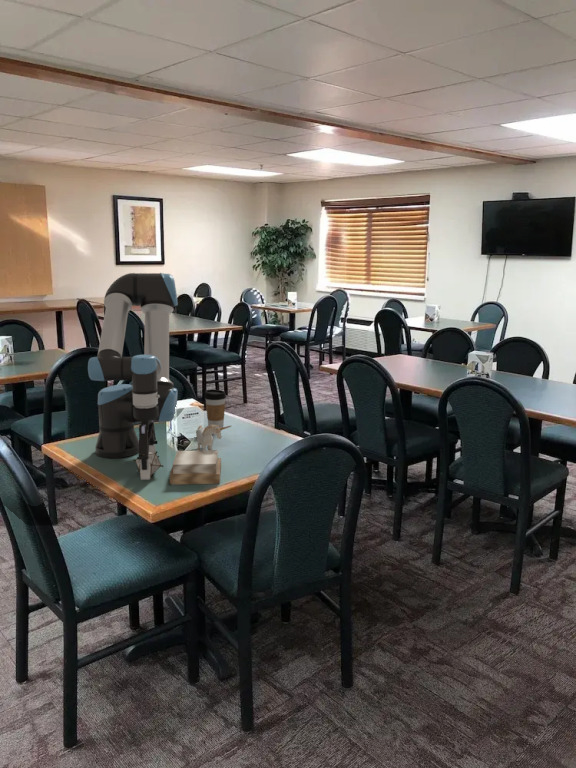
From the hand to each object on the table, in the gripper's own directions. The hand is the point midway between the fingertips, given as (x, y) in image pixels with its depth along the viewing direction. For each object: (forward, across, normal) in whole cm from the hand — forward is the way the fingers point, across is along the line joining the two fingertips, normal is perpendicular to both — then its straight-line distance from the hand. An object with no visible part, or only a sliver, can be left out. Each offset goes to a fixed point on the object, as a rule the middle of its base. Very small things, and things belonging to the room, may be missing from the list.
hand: (148, 471), depth 195 cm
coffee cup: (+1, +52, -19) cm, 55 cm away
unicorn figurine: (+1, +16, -20) cm, 26 cm away
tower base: (+1, -1, -15) cm, 15 cm away
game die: (+1, 0, 0) cm, 1 cm away
